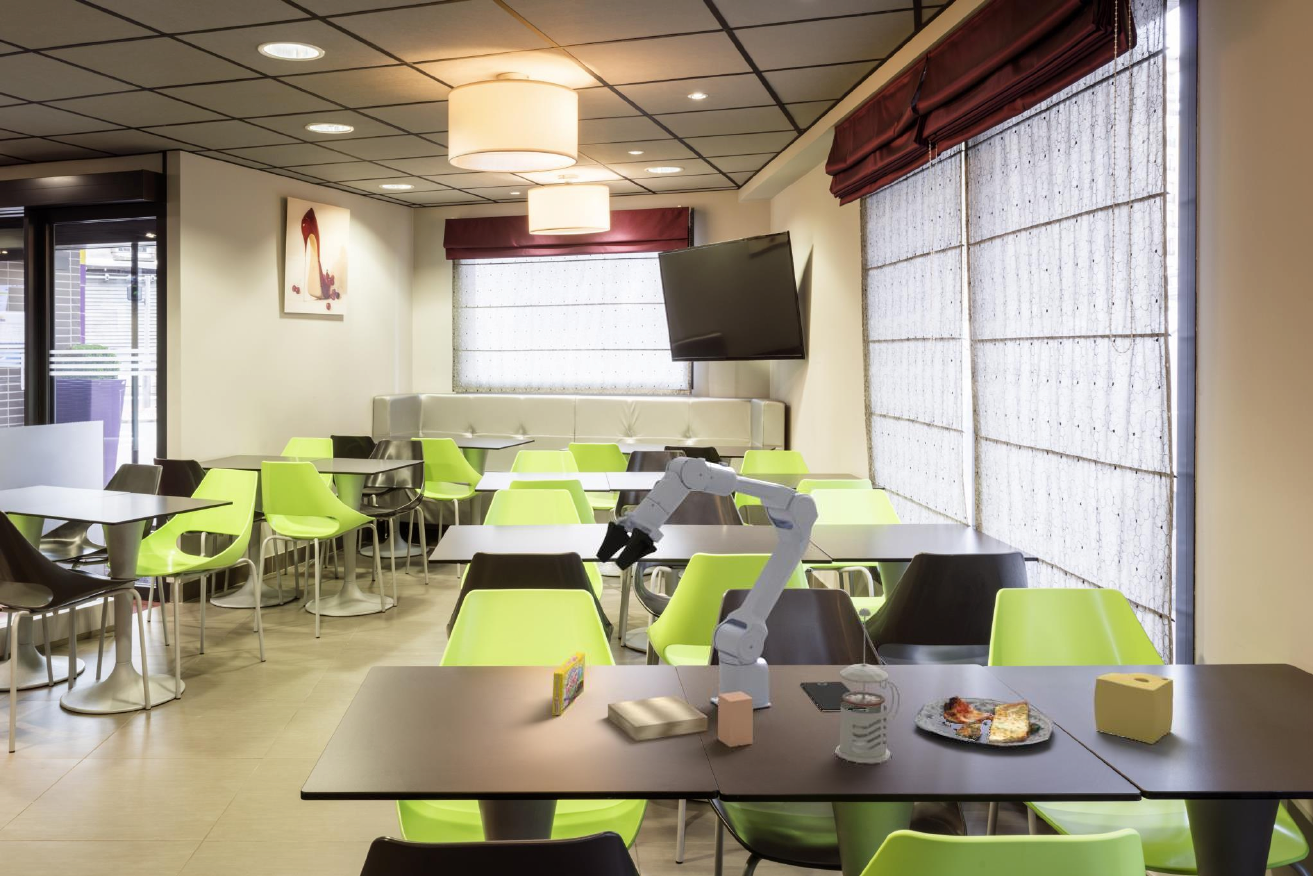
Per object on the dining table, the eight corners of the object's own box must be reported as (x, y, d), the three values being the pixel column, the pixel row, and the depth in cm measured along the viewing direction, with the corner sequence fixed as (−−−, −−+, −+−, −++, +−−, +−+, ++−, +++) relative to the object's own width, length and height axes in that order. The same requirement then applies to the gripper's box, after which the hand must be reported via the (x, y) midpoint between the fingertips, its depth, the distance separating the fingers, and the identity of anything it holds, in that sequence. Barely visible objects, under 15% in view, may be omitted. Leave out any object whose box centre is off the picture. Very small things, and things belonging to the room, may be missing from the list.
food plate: (932, 700, 202) (932, 683, 202) (1057, 718, 192) (1058, 700, 192) (904, 743, 180) (905, 724, 179) (1045, 766, 169) (1045, 746, 169)
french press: (822, 747, 175) (824, 604, 174) (879, 739, 180) (881, 599, 179) (854, 767, 166) (856, 616, 165) (913, 758, 171) (915, 611, 169)
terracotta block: (740, 735, 182) (740, 691, 181) (752, 743, 178) (753, 698, 177) (717, 738, 180) (718, 694, 180) (729, 747, 176) (730, 701, 175)
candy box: (562, 716, 192) (562, 673, 192) (551, 716, 192) (551, 673, 192) (585, 691, 208) (585, 651, 207) (575, 691, 208) (575, 651, 208)
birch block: (675, 710, 197) (675, 695, 197) (707, 733, 184) (707, 716, 184) (607, 719, 192) (607, 704, 191) (636, 743, 179) (636, 726, 179)
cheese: (1115, 719, 192) (1116, 666, 191) (1175, 733, 184) (1177, 678, 184) (1092, 732, 184) (1093, 677, 184) (1154, 747, 177) (1156, 690, 176)
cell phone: (841, 685, 214) (841, 681, 214) (867, 712, 196) (867, 708, 196) (799, 686, 213) (800, 682, 213) (822, 714, 195) (822, 709, 195)
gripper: (624, 489, 193) (578, 542, 189) (663, 498, 181) (614, 555, 177) (647, 513, 196) (601, 566, 192) (686, 524, 184) (638, 581, 180)
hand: (609, 563), depth 185 cm, fingers open, 7 cm apart
